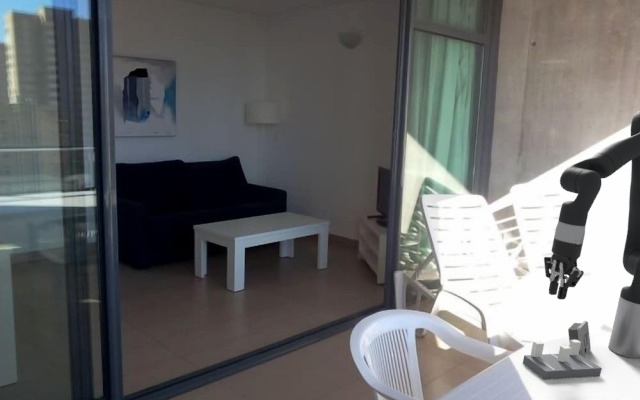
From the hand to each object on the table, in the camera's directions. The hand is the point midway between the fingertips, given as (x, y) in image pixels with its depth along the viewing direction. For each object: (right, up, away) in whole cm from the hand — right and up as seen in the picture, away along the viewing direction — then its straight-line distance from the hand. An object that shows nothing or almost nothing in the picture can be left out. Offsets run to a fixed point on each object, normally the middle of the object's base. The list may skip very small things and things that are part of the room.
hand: (556, 296), depth 156 cm
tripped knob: (0, -18, -3) cm, 18 cm away
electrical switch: (+11, -19, +11) cm, 24 cm away
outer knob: (-7, -17, -2) cm, 18 cm away
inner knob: (+5, -17, +2) cm, 18 cm away
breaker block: (0, -20, -3) cm, 20 cm away
